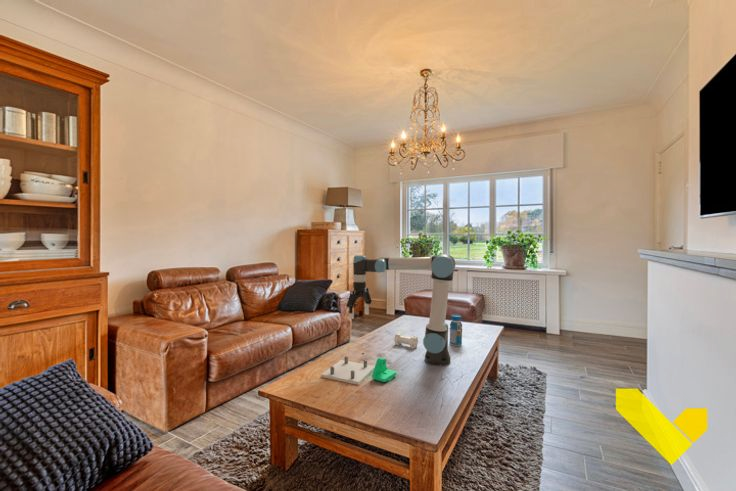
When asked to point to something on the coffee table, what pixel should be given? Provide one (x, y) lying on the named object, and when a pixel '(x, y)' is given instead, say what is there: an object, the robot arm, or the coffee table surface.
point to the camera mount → (382, 371)
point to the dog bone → (406, 340)
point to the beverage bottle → (456, 330)
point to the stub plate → (349, 371)
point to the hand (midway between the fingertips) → (359, 316)
